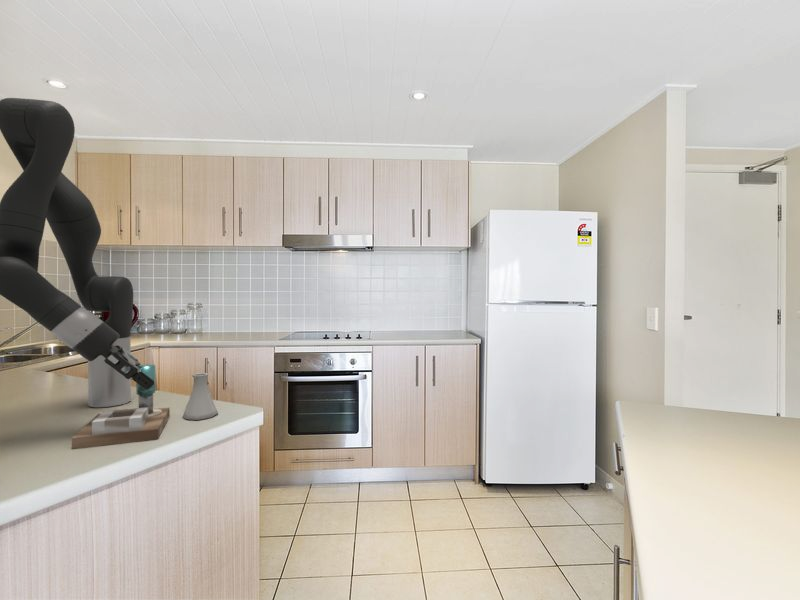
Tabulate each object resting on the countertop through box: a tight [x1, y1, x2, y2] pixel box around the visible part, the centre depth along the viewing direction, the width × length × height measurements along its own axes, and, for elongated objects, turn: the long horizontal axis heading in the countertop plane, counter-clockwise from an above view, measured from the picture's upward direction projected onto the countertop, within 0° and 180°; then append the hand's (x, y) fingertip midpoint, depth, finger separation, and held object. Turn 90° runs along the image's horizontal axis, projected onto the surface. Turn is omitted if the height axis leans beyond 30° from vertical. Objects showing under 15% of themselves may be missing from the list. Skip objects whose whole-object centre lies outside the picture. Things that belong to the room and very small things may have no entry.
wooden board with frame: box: [71, 406, 171, 450], centre depth 88 cm, size 17×14×4 cm
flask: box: [182, 372, 219, 421], centre depth 99 cm, size 7×7×10 cm
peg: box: [135, 364, 156, 414], centre depth 93 cm, size 4×4×10 cm
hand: (150, 382), depth 93 cm, fingers open, 8 cm apart
